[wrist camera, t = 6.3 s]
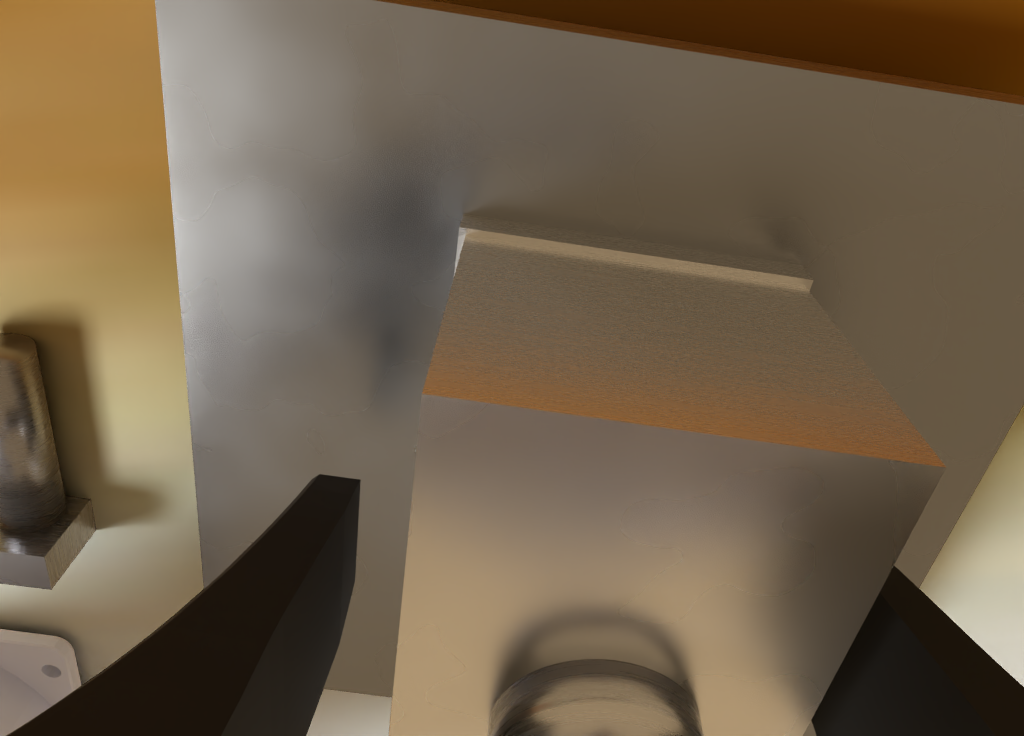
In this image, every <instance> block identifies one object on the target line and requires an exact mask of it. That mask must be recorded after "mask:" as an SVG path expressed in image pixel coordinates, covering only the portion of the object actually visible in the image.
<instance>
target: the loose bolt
mask: <svg viewBox="0 0 1024 736" xmlns="http://www.w3.org/2000/svg"><path fill="white" fill-rule="evenodd" d="M95 531H96V526H95V520H94V514H93V509H92V503H91V499H85V498H78V497H71V496H65V494H64V488H63V483H62V478H61V473H60V468H59V463H58V457H57V452H56V447H55V442H54V437H53V432H52V426H51V421H50V416H49V411H48V406H47V401H46V395H45V390H44V385H43V380H42V375H41V370H40V364H39V359H38V354H37V349H36V344H35V342H34V340H33V339H31V338H29V337H27V336H24V335H20V334H13V333H0V584H9V585H17V586H25V587H34V588H42V589H50V590H52V588H53V587H54V586H55V584H56V583H57V582H58V580H59V579H60V578H61V576H62V575H63V574H64V572H65V571H66V570H67V568H68V567H69V566H70V564H71V563H72V562H73V560H74V559H75V558H76V556H77V555H78V554H79V552H80V551H81V550H82V548H83V547H84V546H85V544H86V543H87V542H88V540H89V539H90V538H91V536H92V535H93V534H94V532H95Z"/></svg>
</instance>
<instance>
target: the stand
mask: <svg viewBox="0 0 1024 736" xmlns="http://www.w3.org/2000/svg"><path fill="white" fill-rule="evenodd" d="M155 5H156V17H157V29H158V41H159V53H160V65H161V77H162V89H163V101H164V113H165V125H166V137H167V149H168V161H169V173H170V185H171V197H172V209H173V221H174V233H175V245H176V257H177V270H178V282H179V294H180V306H181V318H182V330H183V342H184V354H185V366H186V378H187V390H188V402H189V414H190V426H191V438H192V450H193V462H194V474H195V486H196V498H197V510H198V522H199V534H200V546H201V558H202V570H203V582H204V588H206V587H207V586H208V585H209V584H210V583H211V582H212V581H214V580H215V579H216V578H217V577H218V576H219V575H220V574H221V573H222V572H223V571H224V570H226V569H227V568H228V567H229V566H230V565H231V564H232V563H233V562H234V561H235V560H236V559H237V558H238V557H239V556H240V555H241V554H242V553H243V552H244V551H245V550H246V549H247V548H248V547H249V546H250V545H251V544H252V543H253V542H254V541H255V540H256V539H257V538H258V537H259V536H260V535H261V534H262V533H263V532H264V531H265V530H266V529H267V528H268V527H269V526H270V525H271V524H272V523H273V522H274V521H275V520H276V519H277V518H278V517H279V515H280V514H281V513H282V512H283V511H284V510H285V509H286V508H287V507H288V506H289V505H290V503H291V502H292V501H293V500H294V499H295V498H296V497H297V496H298V494H299V493H300V492H301V491H302V490H303V489H304V488H305V486H306V485H307V484H308V483H309V482H310V481H311V479H313V478H314V477H316V476H317V475H319V474H323V475H330V476H338V477H345V478H352V479H360V480H361V483H360V501H359V519H358V538H357V556H356V574H355V583H354V587H353V592H352V596H351V600H350V604H349V608H348V612H347V616H346V620H345V624H344V628H343V632H342V636H341V640H340V644H339V647H338V650H337V652H336V655H335V658H334V661H333V664H332V666H331V669H330V672H329V675H328V677H327V680H326V683H325V686H324V688H323V689H330V690H338V691H346V692H354V693H362V694H370V695H378V696H386V697H392V696H393V686H394V676H395V665H396V655H397V645H398V635H399V624H400V614H401V604H402V594H403V583H404V573H405V563H406V553H407V543H408V532H409V522H410V512H411V502H412V491H413V481H414V471H415V461H416V450H417V440H418V430H419V420H420V409H421V399H422V392H423V388H424V385H425V381H426V377H427V374H428V370H429V366H430V363H431V359H432V355H433V352H434V348H435V345H436V341H437V337H438V334H439V330H440V326H441V323H442V319H443V315H444V312H445V308H446V304H447V301H448V297H449V293H450V290H451V286H452V282H453V279H454V270H455V262H456V253H457V244H458V235H459V227H460V223H461V220H462V217H463V214H465V215H472V216H479V217H485V218H492V219H499V220H505V221H512V222H519V223H525V224H532V225H539V226H545V227H552V228H559V229H565V230H572V231H579V232H585V233H592V234H599V235H605V236H612V237H619V238H625V239H632V240H638V241H645V242H652V243H658V244H665V245H672V246H678V247H685V248H692V249H698V250H705V251H712V252H718V253H725V254H732V255H738V256H745V257H752V258H758V259H765V260H772V261H778V262H785V263H792V264H798V265H802V266H803V268H804V269H805V270H806V271H807V273H808V274H809V275H810V276H811V278H812V279H813V283H812V286H811V289H810V291H809V292H810V293H811V294H812V295H813V297H814V298H815V299H816V301H817V302H818V303H819V304H820V306H821V307H822V308H823V310H824V311H825V312H826V313H827V315H828V316H829V317H830V319H831V320H832V321H833V322H834V324H835V325H836V326H837V328H838V329H839V330H840V331H841V333H842V334H843V335H844V337H845V338H846V339H847V340H848V342H849V343H850V344H851V346H852V347H853V348H854V349H855V351H856V352H857V353H858V355H859V356H860V357H861V358H862V360H863V361H864V362H865V364H866V365H867V366H868V367H869V369H870V370H871V371H872V373H873V374H874V375H875V376H876V378H877V379H878V380H879V382H880V383H881V384H882V385H883V387H884V388H885V389H886V391H887V392H888V393H889V394H890V396H891V397H892V398H893V400H894V401H895V402H896V403H897V405H898V406H899V407H900V409H901V410H902V411H903V412H904V414H905V415H906V416H907V418H908V419H909V420H910V421H911V423H912V424H913V425H914V427H915V428H916V429H917V430H918V432H919V433H920V434H921V436H922V437H923V438H924V439H925V441H926V442H927V443H928V445H929V446H930V447H931V448H932V450H933V451H934V452H935V454H936V455H937V456H938V457H939V459H940V460H941V461H942V463H943V464H944V465H945V466H946V469H945V471H944V473H943V475H942V477H941V478H940V480H939V482H938V484H937V486H936V488H935V490H934V492H933V493H932V495H931V497H930V499H929V501H928V503H927V505H926V506H925V508H924V510H923V512H922V514H921V516H920V518H919V520H918V521H917V523H916V525H915V527H914V529H913V531H912V533H911V534H910V536H909V538H908V540H907V542H906V544H905V546H904V548H903V549H902V551H901V553H900V555H899V557H898V559H897V561H896V562H895V564H894V566H895V567H896V568H898V569H899V570H900V571H901V572H902V573H903V574H904V575H905V576H906V577H907V578H908V579H909V580H910V581H912V582H913V583H914V584H915V585H916V586H917V587H918V588H919V587H920V585H921V583H922V582H923V580H924V578H925V576H926V575H927V573H928V571H929V569H930V568H931V566H932V564H933V562H934V561H935V559H936V557H937V555H938V554H939V552H940V550H941V548H942V547H943V545H944V543H945V541H946V540H947V538H948V536H949V534H950V533H951V531H952V529H953V527H954V526H955V524H956V522H957V520H958V519H959V517H960V515H961V513H962V512H963V510H964V508H965V506H966V505H967V503H968V501H969V499H970V498H971V496H972V494H973V492H974V491H975V489H976V487H977V485H978V484H979V482H980V480H981V478H982V476H983V475H984V473H985V471H986V469H987V468H988V466H989V464H990V462H991V461H992V459H993V457H994V455H995V454H996V452H997V450H998V448H999V447H1000V445H1001V443H1002V441H1003V440H1004V438H1005V436H1006V434H1007V433H1008V431H1009V429H1010V427H1011V426H1012V424H1013V422H1014V420H1015V419H1016V417H1017V415H1018V413H1019V412H1020V410H1021V408H1022V406H1023V405H1024V96H1020V95H1013V94H1007V93H1001V92H995V91H989V90H982V89H976V88H970V87H964V86H958V85H952V84H945V83H939V82H933V81H927V80H921V79H914V78H908V77H902V76H896V75H890V74H884V73H877V72H871V71H865V70H859V69H853V68H846V67H840V66H834V65H828V64H822V63H815V62H809V61H803V60H797V59H791V58H785V57H778V56H772V55H766V54H760V53H754V52H747V51H741V50H735V49H729V48H723V47H717V46H710V45H704V44H698V43H692V42H686V41H679V40H673V39H667V38H661V37H655V36H648V35H642V34H636V33H630V32H624V31H618V30H611V29H605V28H599V27H593V26H587V25H580V24H574V23H568V22H562V21H556V20H549V19H543V18H537V17H531V16H525V15H519V14H512V13H506V12H500V11H494V10H488V9H481V8H475V7H469V6H463V5H457V4H451V3H444V2H438V1H432V0H155ZM803 736H816V733H815V730H814V727H813V724H812V721H810V723H809V725H808V727H807V729H806V731H805V732H804V734H803Z"/></svg>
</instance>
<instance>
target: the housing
mask: <svg viewBox="0 0 1024 736" xmlns="http://www.w3.org/2000/svg"><path fill="white" fill-rule="evenodd" d="M812 283H813V279H812V278H811V276H810V275H809V274H808V273H807V271H806V270H805V269H804V268H803V266H802V265H798V264H792V263H785V262H778V261H772V260H765V259H758V258H752V257H745V256H738V255H732V254H725V253H718V252H712V251H705V250H698V249H692V248H685V247H678V246H672V245H665V244H658V243H652V242H645V241H638V240H632V239H625V238H619V237H612V236H605V235H599V234H592V233H585V232H579V231H572V230H565V229H559V228H552V227H545V226H539V225H532V224H525V223H519V222H512V221H505V220H499V219H492V218H485V217H479V216H472V215H465V214H463V217H462V220H461V223H460V227H459V235H458V244H457V253H456V262H455V270H454V279H453V282H452V286H451V290H450V293H449V297H448V301H447V304H446V308H445V312H444V315H443V319H442V323H441V326H440V330H439V334H438V337H437V341H436V345H435V348H434V352H433V355H432V359H431V363H430V366H429V370H428V374H427V377H426V381H425V385H424V388H423V392H422V399H421V409H420V420H419V430H418V440H417V450H416V461H415V471H414V481H413V491H412V502H411V512H410V522H409V532H408V543H407V553H406V563H405V573H404V583H403V594H402V604H401V614H400V624H399V635H398V645H397V655H396V665H395V676H394V686H393V696H392V706H391V717H390V727H389V736H803V734H804V732H805V731H806V729H807V727H808V725H809V723H810V721H811V719H812V717H813V716H814V714H815V712H816V710H817V708H818V706H819V704H820V703H821V701H822V699H823V697H824V695H825V693H826V691H827V689H828V688H829V686H830V684H831V682H832V680H833V678H834V676H835V675H836V673H837V671H838V669H839V667H840V665H841V663H842V661H843V660H844V658H845V656H846V654H847V652H848V650H849V648H850V647H851V645H852V643H853V641H854V639H855V637H856V635H857V633H858V632H859V630H860V628H861V626H862V624H863V622H864V620H865V619H866V617H867V615H868V613H869V611H870V609H871V607H872V605H873V604H874V602H875V600H876V598H877V596H878V594H879V592H880V590H881V589H882V587H883V585H884V583H885V581H886V579H887V577H888V576H889V574H890V572H891V570H892V568H893V566H894V564H895V562H896V561H897V559H898V557H899V555H900V553H901V551H902V549H903V548H904V546H905V544H906V542H907V540H908V538H909V536H910V534H911V533H912V531H913V529H914V527H915V525H916V523H917V521H918V520H919V518H920V516H921V514H922V512H923V510H924V508H925V506H926V505H927V503H928V501H929V499H930V497H931V495H932V493H933V492H934V490H935V488H936V486H937V484H938V482H939V480H940V478H941V477H942V475H943V473H944V471H945V469H946V466H945V465H944V464H943V463H942V461H941V460H940V459H939V457H938V456H937V455H936V454H935V452H934V451H933V450H932V448H931V447H930V446H929V445H928V443H927V442H926V441H925V439H924V438H923V437H922V436H921V434H920V433H919V432H918V430H917V429H916V428H915V427H914V425H913V424H912V423H911V421H910V420H909V419H908V418H907V416H906V415H905V414H904V412H903V411H902V410H901V409H900V407H899V406H898V405H897V403H896V402H895V401H894V400H893V398H892V397H891V396H890V394H889V393H888V392H887V391H886V389H885V388H884V387H883V385H882V384H881V383H880V382H879V380H878V379H877V378H876V376H875V375H874V374H873V373H872V371H871V370H870V369H869V367H868V366H867V365H866V364H865V362H864V361H863V360H862V358H861V357H860V356H859V355H858V353H857V352H856V351H855V349H854V348H853V347H852V346H851V344H850V343H849V342H848V340H847V339H846V338H845V337H844V335H843V334H842V333H841V331H840V330H839V329H838V328H837V326H836V325H835V324H834V322H833V321H832V320H831V319H830V317H829V316H828V315H827V313H826V312H825V311H824V310H823V308H822V307H821V306H820V304H819V303H818V302H817V301H816V299H815V298H814V297H813V295H812V294H811V293H810V292H809V291H810V289H811V286H812Z"/></svg>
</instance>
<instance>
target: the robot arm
mask: <svg viewBox="0 0 1024 736" xmlns="http://www.w3.org/2000/svg"><path fill="white" fill-rule="evenodd" d="M360 483H361V480H360V479H352V478H345V477H338V476H330V475H323V474H319V475H317V476H316V477H314V478H313V479H311V481H310V482H309V483H308V484H307V485H306V486H305V488H304V489H303V490H302V491H301V492H300V493H299V494H298V496H297V497H296V498H295V499H294V500H293V501H292V502H291V503H290V505H289V506H288V507H287V508H286V509H285V510H284V511H283V512H282V513H281V514H280V515H279V517H278V518H277V519H276V520H275V521H274V522H273V523H272V524H271V525H270V526H269V527H268V528H267V529H266V530H265V531H264V532H263V533H262V534H261V535H260V536H259V537H258V538H257V539H256V540H255V541H254V542H253V543H252V544H251V545H250V546H249V547H248V548H247V549H246V550H245V551H244V552H243V553H242V554H241V555H240V556H239V557H238V558H237V559H236V560H235V561H234V562H233V563H232V564H231V565H230V566H229V567H228V568H227V569H226V570H224V571H223V572H222V573H221V574H220V575H219V576H218V577H217V578H216V579H215V580H214V581H212V582H211V583H210V584H209V585H208V586H207V587H206V588H204V589H203V590H202V591H201V592H200V593H199V594H198V595H197V596H195V597H194V598H193V599H192V600H191V601H190V602H189V603H187V604H186V605H185V606H184V607H183V608H182V609H181V610H180V611H178V612H177V613H176V614H175V615H174V616H173V617H171V618H170V619H169V620H168V621H166V622H165V623H164V624H163V625H162V626H160V627H159V628H158V629H157V630H155V631H154V632H153V633H152V634H150V635H149V636H148V637H147V638H145V639H144V640H143V641H142V642H140V643H139V644H138V645H136V646H135V647H134V648H133V649H131V650H130V651H129V652H127V653H126V654H125V655H123V656H122V657H121V658H119V659H118V660H117V661H115V662H114V663H113V664H111V665H110V666H109V667H107V668H106V669H105V670H103V671H102V672H100V673H99V674H97V675H96V676H95V677H93V678H92V679H90V680H89V681H87V682H86V683H85V684H83V685H81V681H80V676H79V671H78V667H77V662H76V657H75V653H74V649H73V647H72V645H71V644H70V643H69V642H68V641H67V640H65V639H63V638H61V637H57V636H52V635H44V634H36V633H28V632H21V631H13V630H5V629H0V736H306V734H307V732H308V729H309V726H310V724H311V721H312V718H313V715H314V713H315V710H316V707H317V705H318V702H319V699H320V696H321V694H322V691H323V688H324V686H325V683H326V680H327V677H328V675H329V672H330V669H331V666H332V664H333V661H334V658H335V655H336V652H337V650H338V647H339V644H340V640H341V636H342V632H343V628H344V624H345V620H346V616H347V612H348V608H349V604H350V600H351V596H352V592H353V587H354V583H355V574H356V556H357V538H358V519H359V501H360ZM811 721H812V724H813V727H814V730H815V733H816V736H1024V687H1023V686H1022V685H1021V684H1020V683H1019V682H1017V681H1016V680H1015V679H1014V678H1013V677H1012V676H1011V675H1010V674H1009V673H1008V672H1007V671H1005V670H1004V669H1003V668H1002V667H1001V666H1000V665H999V664H998V663H997V662H996V661H995V660H994V659H992V658H991V657H990V656H989V655H988V654H987V653H986V652H985V651H984V650H983V649H982V648H981V647H980V646H979V645H978V644H976V643H975V642H974V641H973V640H972V639H971V638H970V637H969V636H968V635H967V634H966V633H965V632H964V631H963V630H962V629H961V628H960V627H959V626H958V625H957V624H955V623H954V622H953V621H952V620H951V619H950V618H949V617H948V616H947V615H946V614H945V613H944V612H943V611H942V610H941V609H940V608H939V607H938V606H937V605H936V604H935V603H934V602H933V601H931V600H930V599H929V598H928V597H927V596H926V595H925V594H924V593H923V592H922V591H921V590H920V589H919V588H918V587H917V586H916V585H915V584H914V583H913V582H912V581H910V580H909V579H908V578H907V577H906V576H905V575H904V574H903V573H902V572H901V571H900V570H899V569H898V568H896V567H895V566H893V568H892V570H891V572H890V574H889V576H888V577H887V579H886V581H885V583H884V585H883V587H882V589H881V590H880V592H879V594H878V596H877V598H876V600H875V602H874V604H873V605H872V607H871V609H870V611H869V613H868V615H867V617H866V619H865V620H864V622H863V624H862V626H861V628H860V630H859V632H858V633H857V635H856V637H855V639H854V641H853V643H852V645H851V647H850V648H849V650H848V652H847V654H846V656H845V658H844V660H843V661H842V663H841V665H840V667H839V669H838V671H837V673H836V675H835V676H834V678H833V680H832V682H831V684H830V686H829V688H828V689H827V691H826V693H825V695H824V697H823V699H822V701H821V703H820V704H819V706H818V708H817V710H816V712H815V714H814V716H813V717H812V719H811Z"/></svg>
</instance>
